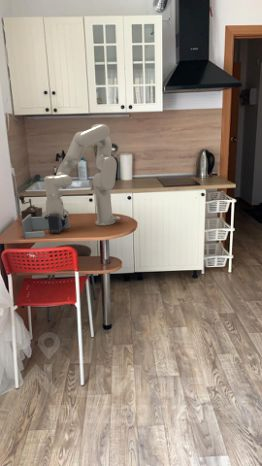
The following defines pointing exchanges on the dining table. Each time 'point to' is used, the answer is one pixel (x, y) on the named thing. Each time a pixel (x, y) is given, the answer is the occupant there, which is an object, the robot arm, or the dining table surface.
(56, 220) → the small box
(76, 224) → the dining table surface
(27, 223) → the shelf
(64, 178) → the robot arm
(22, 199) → the coffee grinder
